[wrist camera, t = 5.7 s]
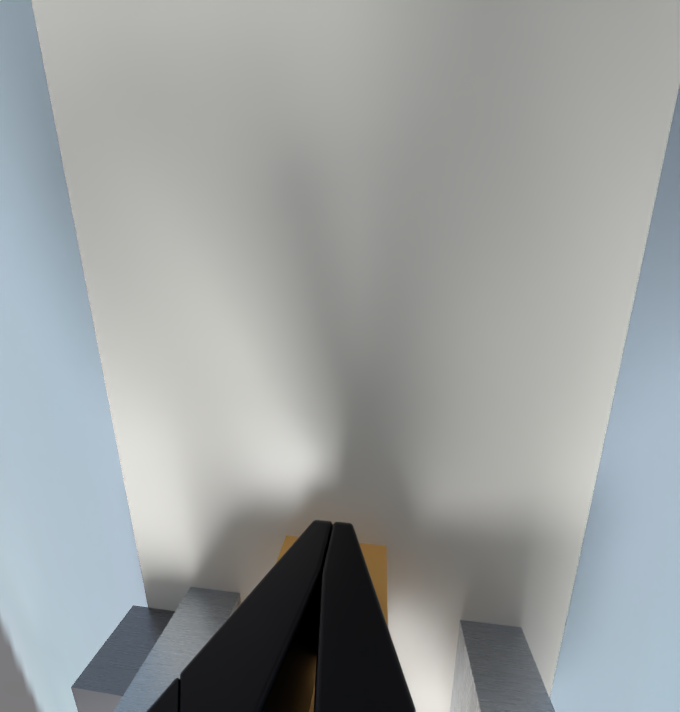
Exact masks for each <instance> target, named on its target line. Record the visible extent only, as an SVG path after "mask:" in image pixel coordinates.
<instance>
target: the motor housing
mask: <svg viewBox="0 0 680 712" xmlns="http://www.w3.org/2000/svg"><path fill="white" fill-rule="evenodd" d="M240 604H241V598H240V593H237V592H228V591H220V590H212V589H204V588H196V587H190V589H189V590H188V592H187V593H186V595H185V597H184V598H183V600H182V601H181V603H180V605H179V606H178V608H177V610H176V611H170V610H163V609H155V608H148V607H140V606H132V608H131V609H130V610H129V612H128V613H127V614H126V616H125V617H124V618H123V620H122V621H121V622H120V624H119V625H118V626H117V628H116V629H115V630H114V632H113V633H112V634H111V635H110V637H109V638H108V639H107V641H106V642H105V643H104V645H103V646H102V647H101V649H100V650H99V651H98V653H97V654H96V655H95V657H94V658H93V659H92V661H91V662H90V663H89V664H88V666H87V667H86V668H85V670H84V671H83V672H82V674H81V675H80V676H79V678H78V679H77V680H76V682H75V683H74V684H73V686H72V687H71V689H72V692H73V696H74V699H75V702H76V706H77V709H78V712H146V711H147V710H148V709H149V708H150V707H151V706H152V704H153V703H154V702H155V701H156V700H157V699H158V698H159V696H160V695H161V694H162V693H163V692H164V691H165V690H166V688H167V687H168V686H169V685H170V684H171V683H172V681H173V680H174V679H175V678H179V679H180V673H181V672H182V670H183V669H184V668H185V667H186V666H187V665H188V664H189V662H190V661H191V660H192V659H193V658H194V657H195V656H196V654H197V653H198V652H199V651H200V650H201V649H202V648H203V646H204V645H205V644H206V643H207V642H208V641H209V640H210V638H211V637H212V636H213V635H214V634H215V633H216V632H217V630H218V629H219V628H220V627H221V626H222V625H223V624H224V622H225V621H226V620H227V619H228V618H229V617H230V616H231V614H232V613H233V612H234V611H235V610H236V609H237V608H238V606H239V605H240ZM450 712H555V710H554V708H553V705H552V703H551V700H550V698H549V695H548V693H547V690H546V688H545V685H544V683H543V680H542V678H541V675H540V673H539V670H538V668H537V665H536V663H535V660H534V658H533V655H532V653H531V651H530V648H529V646H528V643H527V641H526V638H525V636H524V633H523V631H522V628H521V627H514V626H506V625H498V624H490V623H482V622H473V621H465V620H460V623H459V632H458V642H457V651H456V660H455V669H454V679H453V688H452V697H451V707H450Z"/></svg>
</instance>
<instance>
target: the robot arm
mask: <svg viewBox="0 0 680 712" xmlns="http://www.w3.org/2000/svg"><path fill="white" fill-rule="evenodd" d="M314 686H315V693H314V710H313V712H416V709H415V706H414V703H413V700H412V697H411V694H410V691H409V688H408V685H407V682H406V679H405V677H404V674H403V671H402V668H401V665H400V662H399V659H398V656H397V653H396V650H395V647H394V644H393V641H392V638H391V635H390V632H389V629H388V627H387V624H386V621H385V618H384V615H383V612H382V609H381V606H380V603H379V600H378V597H377V594H376V591H375V588H374V585H373V582H372V579H371V577H370V574H369V571H368V568H367V565H366V562H365V559H364V556H363V553H362V550H361V547H360V544H359V541H358V538H357V535H356V532H355V529H354V527H353V525H352V524H351V523H346V522H335V523H334V524H332V522H331V521H324V520H314V521H313V522H312V523H311V524H310V525H309V526H308V527H307V529H306V530H305V531H304V532H303V533H302V534H301V535H300V537H299V538H298V539H297V540H296V541H295V542H294V543H293V545H292V546H291V547H290V548H289V549H288V550H287V551H286V553H285V554H284V555H283V556H282V557H281V558H280V559H279V561H278V562H277V563H276V564H275V565H274V566H273V567H272V569H271V570H270V571H269V572H268V573H267V574H266V575H265V577H264V578H263V579H262V580H261V581H260V582H259V583H258V585H257V586H256V587H255V588H254V589H253V590H252V591H251V593H250V594H249V595H248V596H247V597H246V598H245V599H244V601H243V602H242V603H241V604H240V605H239V606H238V608H237V609H236V610H235V611H234V612H233V613H232V614H231V616H230V617H229V618H228V619H227V620H226V621H225V622H224V624H223V625H222V626H221V627H220V628H219V629H218V630H217V632H216V633H215V634H214V635H213V636H212V637H211V638H210V640H209V641H208V642H207V643H206V644H205V645H204V646H203V648H202V649H201V650H200V651H199V652H198V653H197V654H196V656H195V657H194V658H193V659H192V660H191V661H190V662H189V664H188V665H187V666H186V667H185V668H184V669H183V670H182V672H181V673H180V679H179V678H175V679H174V680H173V681H172V683H171V684H170V685H169V686H168V687H167V688H166V690H165V691H164V692H163V693H162V694H161V695H160V696H159V698H158V699H157V700H156V701H155V702H154V703H153V704H152V706H151V707H150V708H149V709H148V710H147V711H146V712H309V709H310V705H311V700H312V695H313V691H314Z"/></svg>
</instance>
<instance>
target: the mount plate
mask: <svg viewBox="0 0 680 712" xmlns="http://www.w3.org/2000/svg"><path fill="white" fill-rule="evenodd" d="M31 2H32V7H33V12H34V17H35V23H36V28H37V33H38V38H39V43H40V49H41V54H42V59H43V64H44V69H45V74H46V80H47V85H48V90H49V95H50V100H51V106H52V111H53V116H54V121H55V126H56V132H57V137H58V142H59V147H60V152H61V157H62V163H63V168H64V173H65V178H66V183H67V189H68V194H69V199H70V204H71V209H72V215H73V220H74V225H75V230H76V235H77V240H78V246H79V251H80V256H81V261H82V266H83V272H84V277H85V282H86V287H87V292H88V298H89V303H90V308H91V313H92V318H93V323H94V329H95V334H96V339H97V344H98V349H99V355H100V360H101V365H102V370H103V375H104V381H105V386H106V391H107V396H108V401H109V406H110V412H111V417H112V422H113V427H114V432H115V438H116V443H117V448H118V453H119V458H120V464H121V469H122V474H123V479H124V484H125V490H126V495H127V500H128V505H129V510H130V515H131V521H132V526H133V531H134V536H135V541H136V547H137V552H138V557H139V562H140V567H141V573H142V578H143V583H144V588H145V593H146V598H147V604H148V608H155V609H163V610H170V611H176V610H177V608H178V606H179V605H180V603H181V601H182V600H183V598H184V597H185V595H186V593H187V592H188V590H189V589H190V587H196V588H204V589H212V590H220V591H228V592H237V593H240V598H241V603H242V602H243V601H244V599H245V598H246V597H247V596H248V595H249V594H250V593H251V591H252V590H253V589H254V588H255V587H256V586H257V585H258V583H259V582H260V581H261V580H262V579H263V578H264V577H265V575H266V574H267V573H268V572H269V571H270V570H271V569H272V567H273V566H274V565H275V564H276V562H277V559H278V556H279V553H280V551H281V548H282V545H283V543H284V540H285V537H286V536H295V537H300V535H301V534H302V533H303V532H304V531H305V530H306V529H307V527H308V526H309V525H310V524H311V523H312V522H313V521H314V520H324V521H331V522H332V524H334V523H335V522H346V523H351V524H352V525H353V527H354V529H355V532H356V535H357V538H358V541H359V543H363V544H373V545H382V546H386V553H387V606H388V629H389V632H390V635H391V638H392V641H393V644H394V647H395V650H396V653H397V656H398V659H399V662H400V665H401V668H402V671H403V674H404V677H405V679H406V682H407V685H408V688H409V691H410V694H411V697H412V700H413V703H414V706H415V709H416V712H450V707H451V697H452V688H453V679H454V669H455V660H456V651H457V642H458V632H459V623H460V620H465V621H473V622H482V623H490V624H498V625H506V626H514V627H521V628H522V631H523V633H524V636H525V638H526V641H527V643H528V646H529V648H530V651H531V653H532V655H533V658H534V660H535V663H536V665H537V668H538V670H539V673H540V675H541V678H542V680H543V683H544V685H545V688H546V690H547V693H548V695H549V698H550V695H551V690H552V686H553V681H554V676H555V671H556V667H557V662H558V657H559V653H560V648H561V643H562V638H563V634H564V629H565V624H566V620H567V615H568V610H569V605H570V601H571V596H572V591H573V586H574V582H575V577H576V572H577V568H578V563H579V558H580V553H581V549H582V544H583V539H584V534H585V530H586V525H587V520H588V516H589V511H590V506H591V501H592V497H593V492H594V487H595V482H596V478H597V473H598V468H599V464H600V459H601V454H602V449H603V445H604V440H605V435H606V431H607V426H608V421H609V416H610V412H611V407H612V402H613V397H614V393H615V388H616V383H617V379H618V374H619V369H620V364H621V360H622V355H623V350H624V345H625V341H626V336H627V331H628V327H629V322H630V317H631V312H632V308H633V303H634V298H635V293H636V289H637V284H638V279H639V275H640V270H641V265H642V260H643V256H644V251H645V246H646V242H647V237H648V232H649V227H650V223H651V218H652V213H653V208H654V204H655V199H656V194H657V190H658V185H659V180H660V175H661V171H662V166H663V161H664V156H665V152H666V147H667V142H668V138H669V133H670V128H671V123H672V119H673V114H674V109H675V104H676V100H677V95H678V90H679V86H680V0H31Z"/></svg>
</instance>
